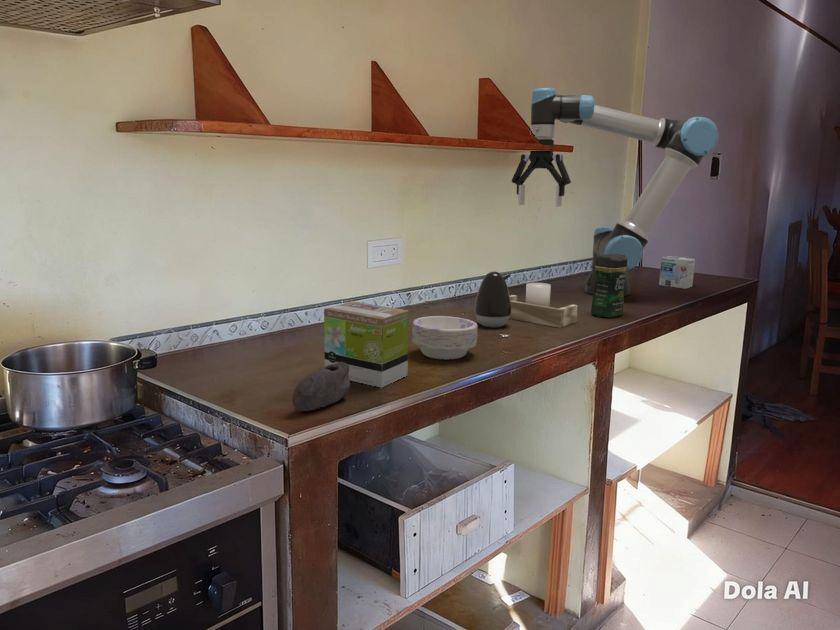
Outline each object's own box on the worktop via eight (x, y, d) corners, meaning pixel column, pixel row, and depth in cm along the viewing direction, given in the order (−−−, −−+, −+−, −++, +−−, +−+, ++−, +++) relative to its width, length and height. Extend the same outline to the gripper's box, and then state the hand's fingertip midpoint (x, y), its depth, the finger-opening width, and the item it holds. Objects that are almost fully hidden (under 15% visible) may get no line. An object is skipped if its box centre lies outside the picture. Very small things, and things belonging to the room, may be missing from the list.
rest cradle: (511, 310, 215) (512, 294, 214) (576, 322, 201) (577, 305, 200) (494, 315, 208) (494, 299, 207) (560, 327, 194) (561, 310, 193)
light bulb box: (658, 285, 266) (660, 257, 264) (665, 283, 271) (667, 255, 269) (686, 289, 260) (689, 260, 257) (692, 286, 265) (695, 258, 262)
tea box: (322, 376, 147) (321, 307, 144) (351, 365, 155) (351, 299, 152) (382, 389, 139) (382, 316, 136) (409, 377, 147) (410, 308, 144)
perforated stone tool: (304, 420, 122) (303, 382, 121) (282, 414, 125) (281, 376, 123) (358, 397, 134) (358, 362, 133) (337, 392, 137) (337, 358, 136)
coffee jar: (608, 319, 206) (613, 256, 202) (586, 314, 211) (590, 253, 207) (627, 315, 212) (632, 254, 208) (605, 311, 218) (610, 251, 214)
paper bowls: (489, 355, 165) (491, 322, 163) (444, 367, 155) (445, 332, 153) (443, 343, 176) (444, 312, 174) (398, 353, 165) (398, 320, 164)
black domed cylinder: (518, 327, 194) (521, 273, 190) (487, 331, 189) (489, 275, 185) (497, 320, 202) (499, 267, 199) (466, 323, 197) (468, 270, 194)
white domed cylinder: (532, 314, 211) (534, 281, 208) (553, 318, 206) (555, 284, 204) (520, 318, 205) (521, 284, 203) (541, 321, 201) (542, 287, 199)
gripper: (502, 139, 230) (500, 204, 234) (572, 137, 215) (569, 207, 219) (514, 139, 235) (512, 203, 240) (583, 138, 220) (579, 206, 225)
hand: (539, 205), depth 230 cm, fingers open, 13 cm apart
